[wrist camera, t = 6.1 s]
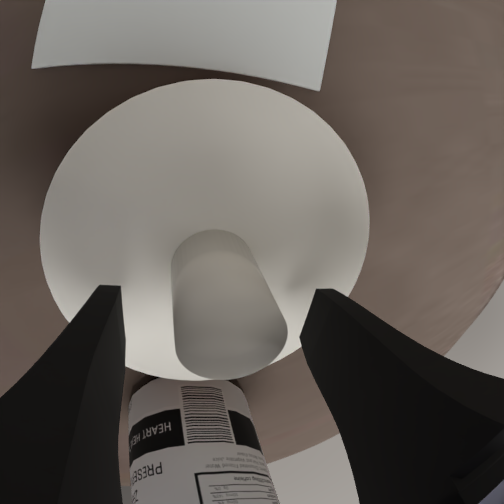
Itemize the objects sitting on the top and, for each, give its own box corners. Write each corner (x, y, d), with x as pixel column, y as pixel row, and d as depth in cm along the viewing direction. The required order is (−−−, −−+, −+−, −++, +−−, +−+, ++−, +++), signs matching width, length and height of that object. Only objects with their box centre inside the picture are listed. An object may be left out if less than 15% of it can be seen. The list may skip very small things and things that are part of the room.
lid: (73, 363, 12) (60, 443, 8) (48, 74, 7) (-31, 72, 3) (312, 359, 15) (346, 426, 12) (391, 123, 10) (480, 151, 6)
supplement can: (247, 418, 22) (304, 583, 10) (149, 433, 21) (175, 601, 8) (239, 355, 18) (323, 593, 6) (111, 374, 17) (125, 612, 4)
